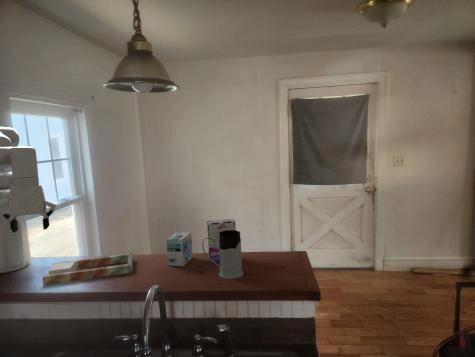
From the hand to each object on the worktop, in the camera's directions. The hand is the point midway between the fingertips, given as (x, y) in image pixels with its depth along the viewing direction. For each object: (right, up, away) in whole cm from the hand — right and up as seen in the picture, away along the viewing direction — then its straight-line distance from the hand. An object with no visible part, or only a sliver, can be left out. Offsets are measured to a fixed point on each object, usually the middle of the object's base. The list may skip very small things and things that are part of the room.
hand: (30, 230), depth 108 cm
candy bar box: (+68, -15, +14) cm, 71 cm away
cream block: (+9, -18, +4) cm, 21 cm away
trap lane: (+19, -17, +7) cm, 26 cm away
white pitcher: (+69, -16, +1) cm, 71 cm away
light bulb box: (+51, -16, +15) cm, 55 cm away
